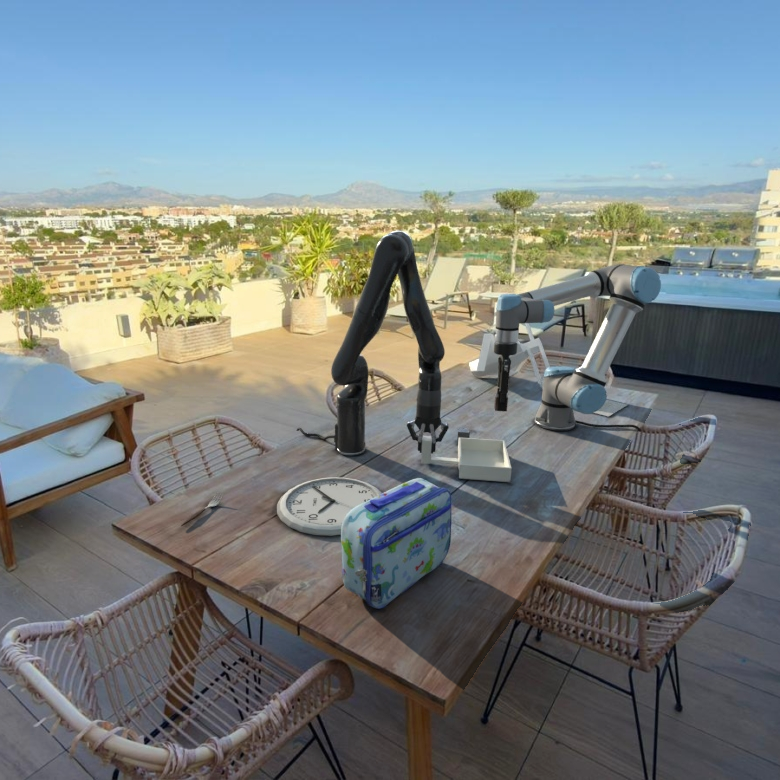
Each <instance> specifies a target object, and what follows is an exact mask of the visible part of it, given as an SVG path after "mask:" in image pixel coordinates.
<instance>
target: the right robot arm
mask: <svg viewBox="0 0 780 780" xmlns="http://www.w3.org/2000/svg"><path fill="white" fill-rule="evenodd" d="M661 288H662V280H661V279H660V274H659V273H658V272H657V271H656V269H654V268H651V267H647V266H644V265H632V264H631V265H630V264H624V263H623V264H621V263H619V264H612V265H608V266H605V267H600V268H597V269H594V270H590V271H588V272H586V273H585V274H584V275H583V276H580V277H579V276H578V277H575V278H573V279H572V278H571V279H568V280H564V281H561V282H559V283H555V284H550V285H547V286H543V287H540V288H536V289H532V290H529V291H525V292H521V293H518V294H517V293H503V294H500V295H498V298H497V302H496V308H495V309H496V310H495V311H496V314H495V316H496V317H495V331H493V333H492V334H493V335H494V336H495V340H496V342H495V343H494V353H495V354H498V355H501V356H499V358H498V363H499V364H498V374H497V381H496V383H497V391H496V394H498V408H497V411H496V412H506V399H507V396H508V394H509V383H510V373H511V370H510V365H511V360H510V358H509V356H510V355H515V354H516V353H517V343H516V342H517V341H518V340H519V332H520V324H525V323H529V324H543V323H549V322H551V321H552V320H553V318H554V316H555V310H556V309H555V307H556V306H560V305H563V304H567V303H570V302H573V301H577V300H581V299H585V298H589V297H590V298H593V299H594V298H598V297H608V299H609V301H610V305H609V308H608V310H607V312H606V314H605V316H604V319H603V321H602V322H601V326H600V327H599V329H598V331H597V333H596V335H595V337H594V339H593V341H592V343H591V345H590V347H589V349H588V351H587V354H586V356H585V358H584V360H583V362H582V365H581V366H580V367H577V368H576V367H573V366H561V365H560V366H558V365H557V366H550V367H549V368H547V369H546V368H545V370H544V373H543V374H544V375H543V381H542V382H543V389H542V394H541V402H540V405H539V407H538V410H537V411H536V413H535V417H534V424H535V425H536V426H537V427H539V428H542V429H544V430H549V431H556V432H567V431H572V430H574V429H575V428H576V424H578V425H583V426H587V427H591V428H592V427H593V428H604V429H605V428H607V429H609V428H610V429H611V428H633V429H636V430H637V431H640V432H641V431H642V429H641V427H639V426H638V425H635V424H596V423H588V422H584V421H580V420H577V419H576V418H575V417H576V416H575V413H574V412H578V413H580V414H583V415H590V414H594V413H593V412H596V411H598V410H599V409H600V408H601V407H602V406H603V405H604V403H605V401H606V400H607V398H608V395H607V390H606V388H605V387H606V385H607V383H608V381H607V379H606V375H607V373H608V371H609V368H610V367H611V365H612V362H613V360H614V358H615V356H616V355H617V353H618V350H619V348H620V346H621V344H622V342H623V341H624V338H625V336H626V334H627V332H628V330H629V328H630V326H631V323H632V322H633V320H634V318H635V315H636V314H637V313H639V312H642V311H643V310H644V308H645V306H646V304H649V303H652V302H653V301H655V300H656V299H657V297H658V296H659V295H660V292H661ZM509 372H510V373H509Z"/></svg>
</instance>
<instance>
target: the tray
mask: <svg viewBox="0 0 780 780" xmlns="http://www.w3.org/2000/svg"><path fill="white" fill-rule="evenodd" d="M431 445H432V438H431V435H423V437H422V453H420V454H421V457H420V464H423V465H424V464H425V465H431V464H438V465H439V464H440V465H441V464H442V465H454V466H455V465H456V466H457V465H458V479H460V480H461V479H462V480H474V481H490V482H501V483H511V477H512V465H511V464H512V463H511V461H510V456H509V453H508V449H507V445H506V441H505V439H491V438H474V437H469V438H460V437H459V441H458V445H457V458H456V457H445V456H444V457H443V456H432V454H431Z"/></svg>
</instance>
